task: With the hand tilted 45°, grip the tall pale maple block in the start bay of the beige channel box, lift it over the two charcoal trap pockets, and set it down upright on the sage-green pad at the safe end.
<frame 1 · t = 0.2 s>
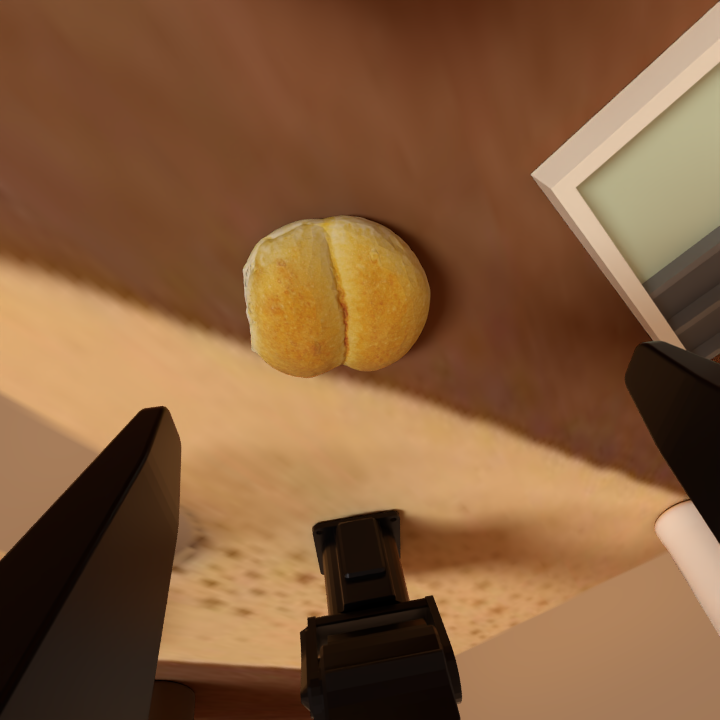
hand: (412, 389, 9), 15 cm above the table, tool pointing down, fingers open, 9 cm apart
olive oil: (147, 697, 50), on the table
bread roll: (330, 290, 25), on the table
drinking glass: (678, 512, 44), on the table
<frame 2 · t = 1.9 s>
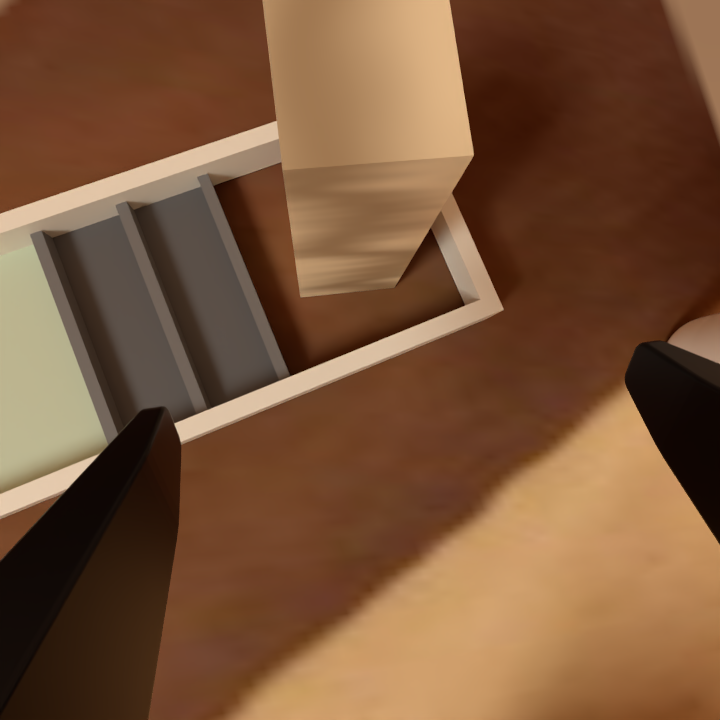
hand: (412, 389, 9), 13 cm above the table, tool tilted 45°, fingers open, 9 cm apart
maple block: (342, 246, 23), resting in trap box
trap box: (169, 312, 22), on the table
drinking glass: (701, 372, 24), on the table
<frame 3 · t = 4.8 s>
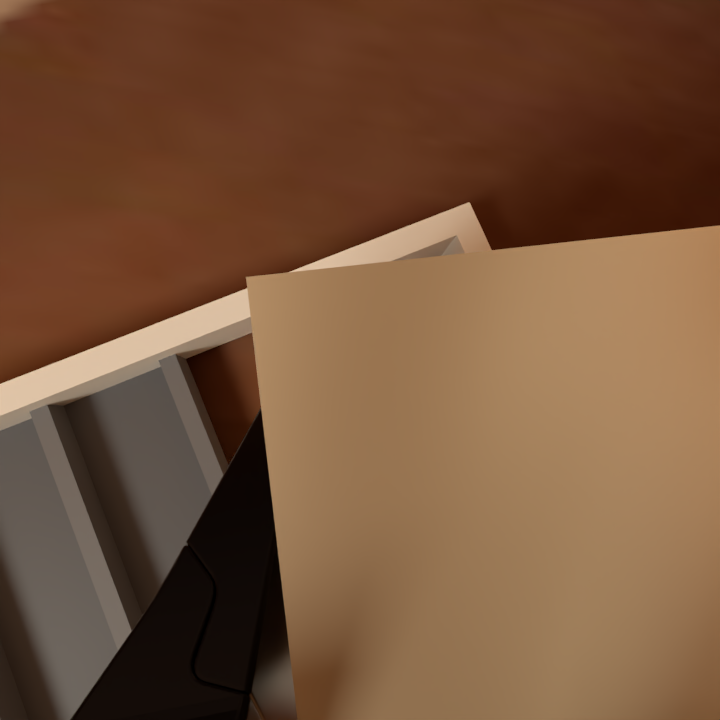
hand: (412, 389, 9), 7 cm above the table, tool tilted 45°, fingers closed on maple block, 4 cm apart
maple block: (379, 445, 16), resting in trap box, touching gripper
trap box: (118, 563, 15), on the table
when the fingers open (8 cm above the table, at t = 10.2 s): maple block stays where it is, resting on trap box.
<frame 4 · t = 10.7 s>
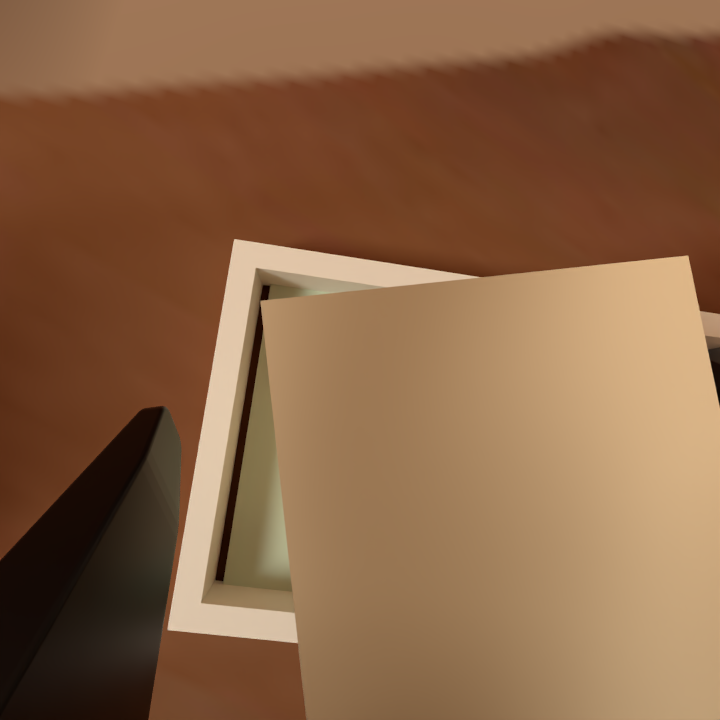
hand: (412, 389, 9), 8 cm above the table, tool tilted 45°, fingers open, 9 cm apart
maple block: (375, 442, 17), resting on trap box
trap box: (605, 473, 17), on the table
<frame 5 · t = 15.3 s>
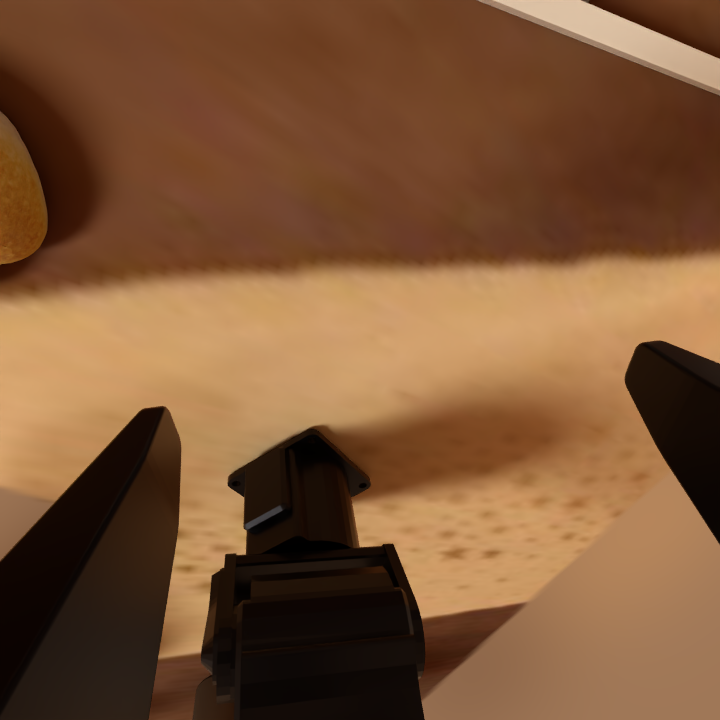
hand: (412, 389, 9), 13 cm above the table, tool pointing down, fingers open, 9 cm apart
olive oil: (246, 682, 49), on the table
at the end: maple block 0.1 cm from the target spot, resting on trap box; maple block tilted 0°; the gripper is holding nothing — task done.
